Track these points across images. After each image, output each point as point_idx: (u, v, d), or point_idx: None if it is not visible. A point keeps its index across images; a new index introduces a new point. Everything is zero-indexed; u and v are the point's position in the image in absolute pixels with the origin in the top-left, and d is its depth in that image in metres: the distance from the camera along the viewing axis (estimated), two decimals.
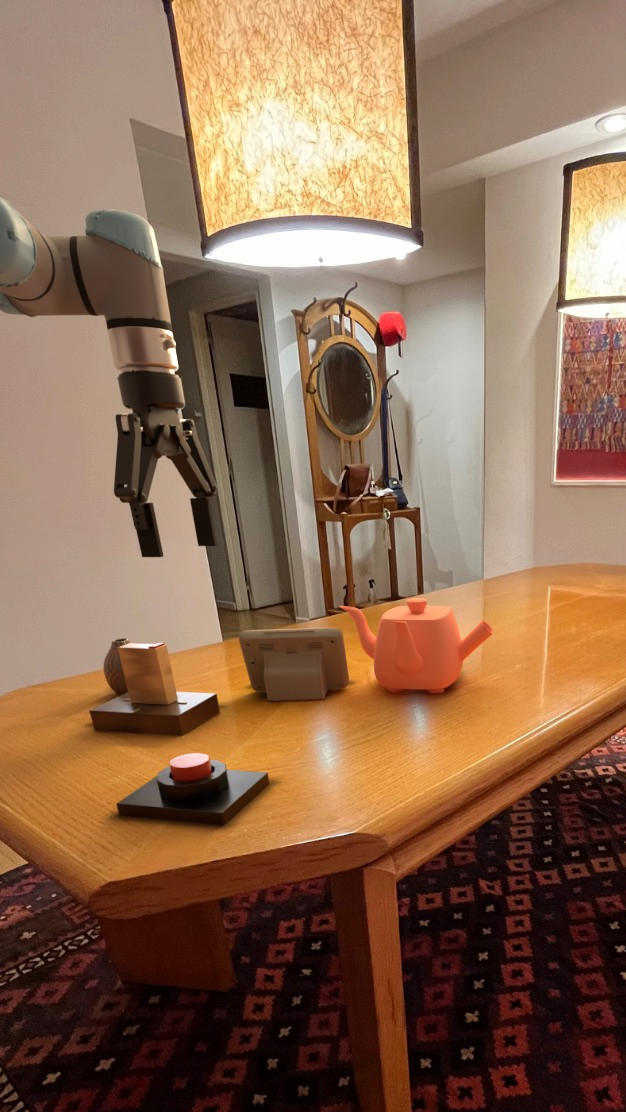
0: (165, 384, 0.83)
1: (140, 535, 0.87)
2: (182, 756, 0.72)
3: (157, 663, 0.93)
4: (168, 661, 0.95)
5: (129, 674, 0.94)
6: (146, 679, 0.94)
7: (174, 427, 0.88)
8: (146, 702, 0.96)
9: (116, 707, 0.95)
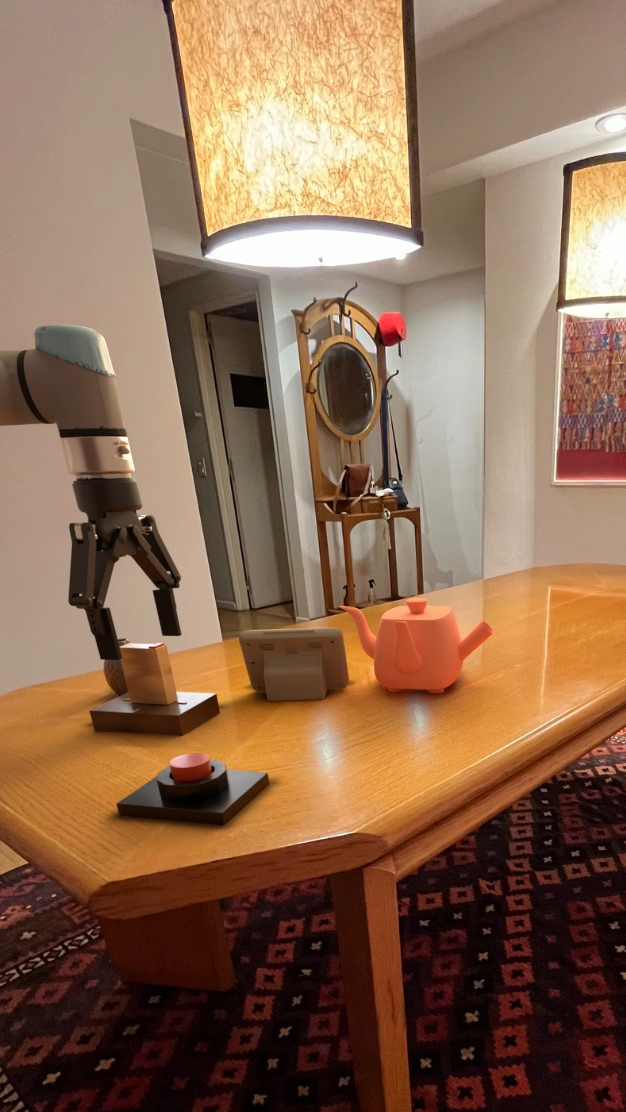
0: (120, 490, 0.82)
1: (98, 639, 0.86)
2: (182, 756, 0.72)
3: (157, 663, 0.93)
4: (168, 661, 0.95)
5: (129, 674, 0.94)
6: (146, 679, 0.94)
7: (132, 528, 0.87)
8: (146, 702, 0.96)
9: (116, 707, 0.95)
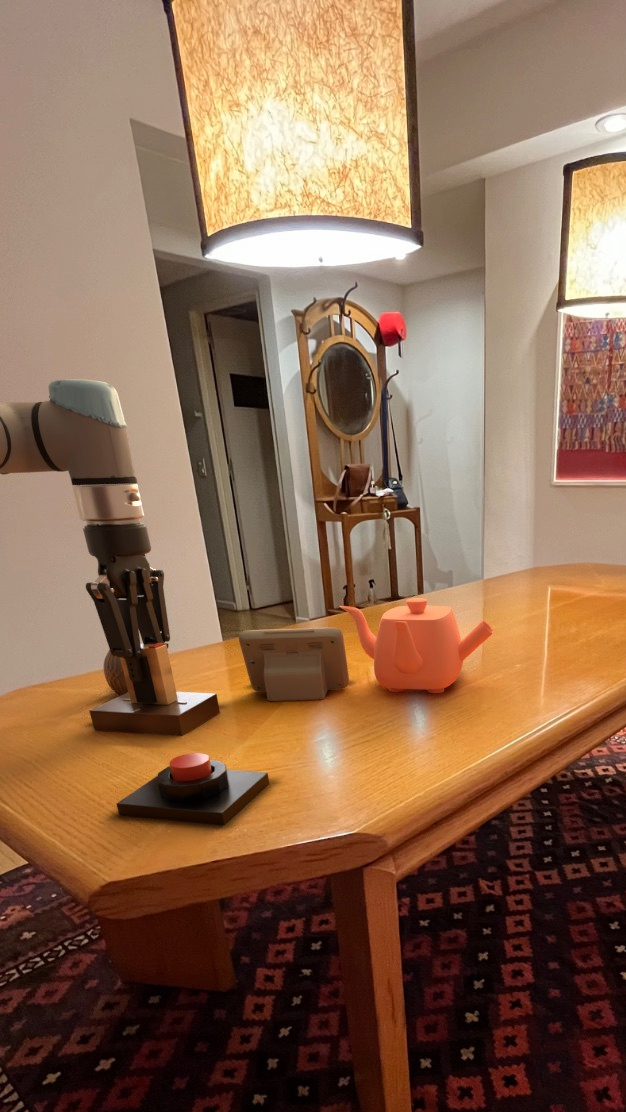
0: (130, 535, 0.85)
1: (135, 684, 0.94)
2: (182, 756, 0.72)
3: (157, 663, 0.93)
4: (168, 661, 0.95)
5: None
6: None
7: (141, 569, 0.89)
8: None
9: (116, 707, 0.95)
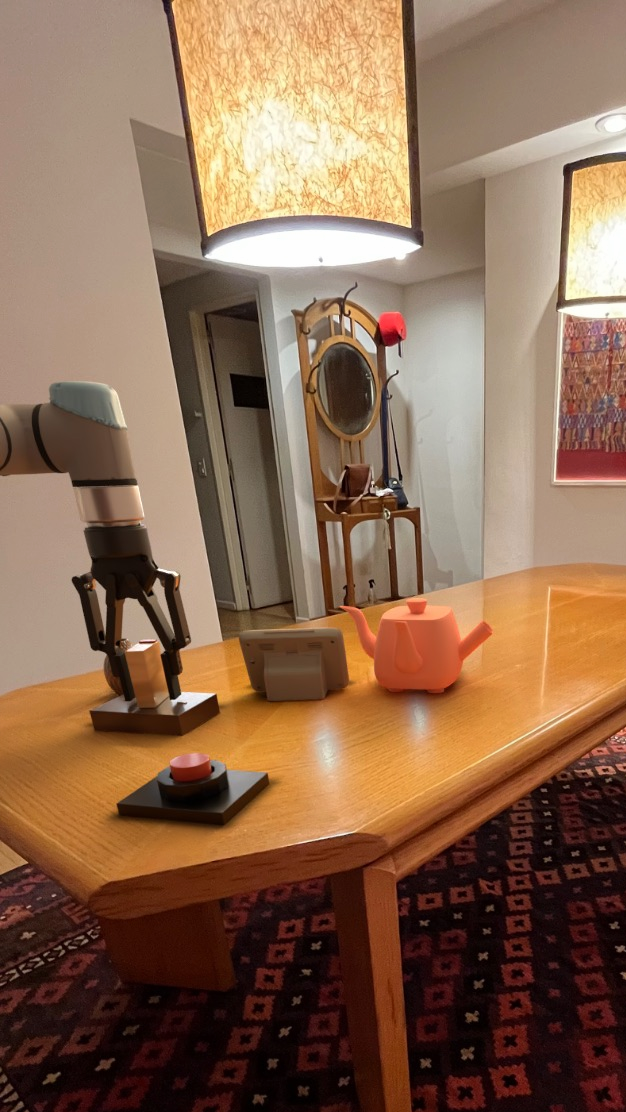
0: None
1: (172, 681, 0.95)
2: (182, 756, 0.72)
3: None
4: None
5: (151, 676, 0.93)
6: (159, 675, 0.96)
7: None
8: (161, 700, 0.96)
9: (116, 707, 0.95)
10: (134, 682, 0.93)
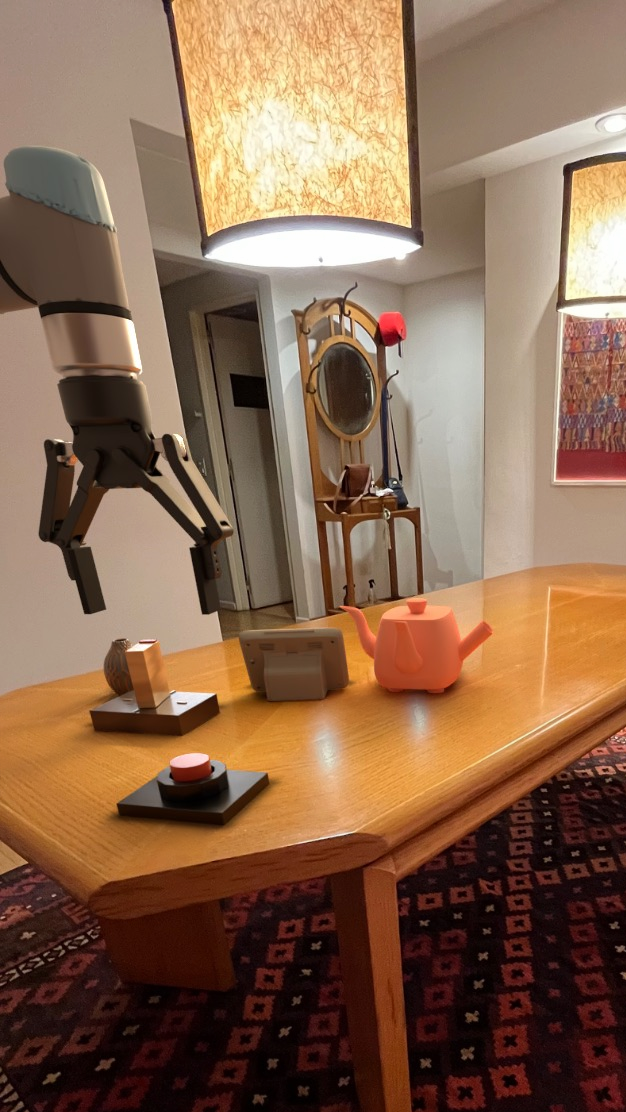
0: None
1: (205, 587, 0.68)
2: (182, 756, 0.72)
3: (161, 655, 0.97)
4: None
5: (151, 676, 0.93)
6: (159, 675, 0.96)
7: None
8: (161, 700, 0.96)
9: (116, 707, 0.95)
10: (134, 682, 0.93)
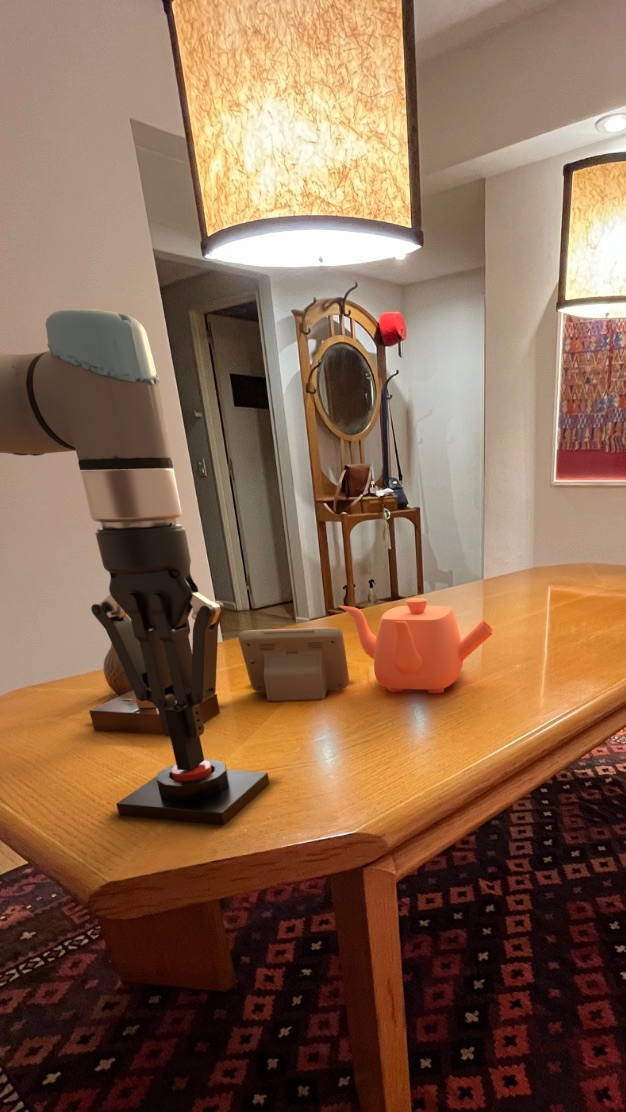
0: None
1: (187, 745, 0.69)
2: None
3: None
4: None
5: None
6: None
7: None
8: None
9: (116, 707, 0.95)
10: None
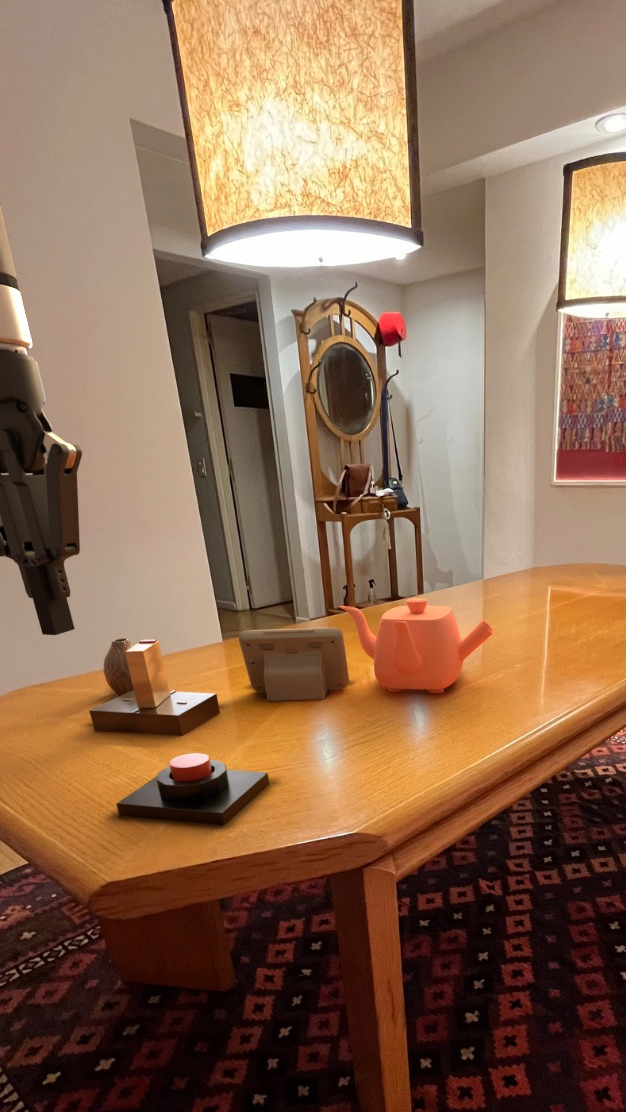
0: None
1: (51, 607, 0.65)
2: (182, 756, 0.72)
3: (161, 655, 0.97)
4: None
5: (151, 676, 0.93)
6: (159, 675, 0.96)
7: None
8: (161, 700, 0.96)
9: (116, 707, 0.95)
10: (134, 682, 0.93)
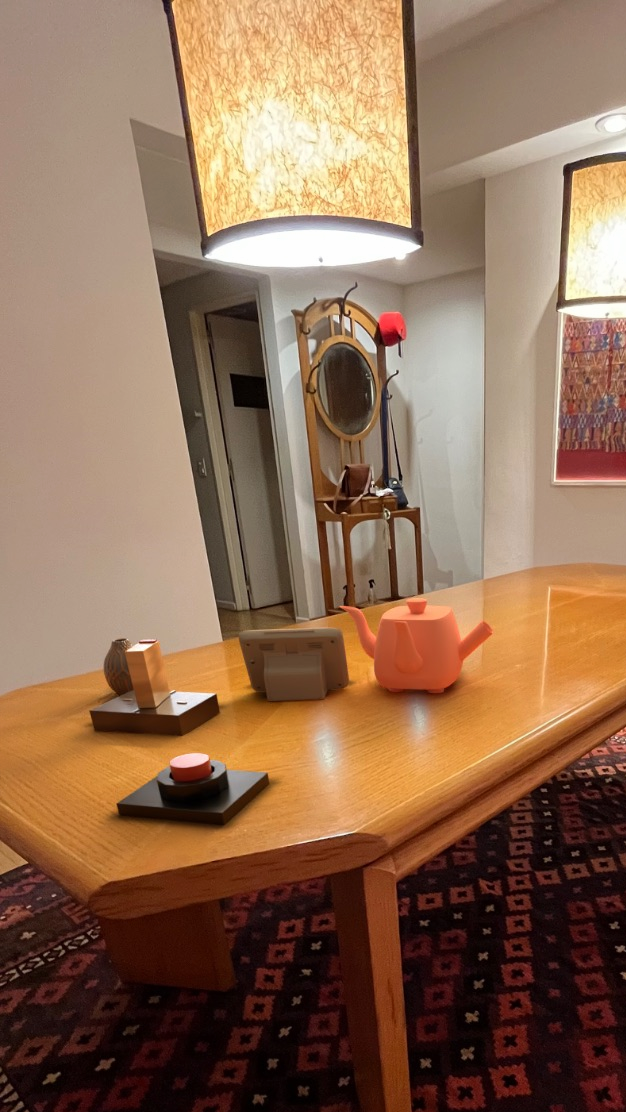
0: None
1: None
2: (182, 756, 0.72)
3: (161, 655, 0.97)
4: None
5: (151, 676, 0.93)
6: (159, 675, 0.96)
7: None
8: (161, 700, 0.96)
9: (116, 707, 0.95)
10: (134, 682, 0.93)
